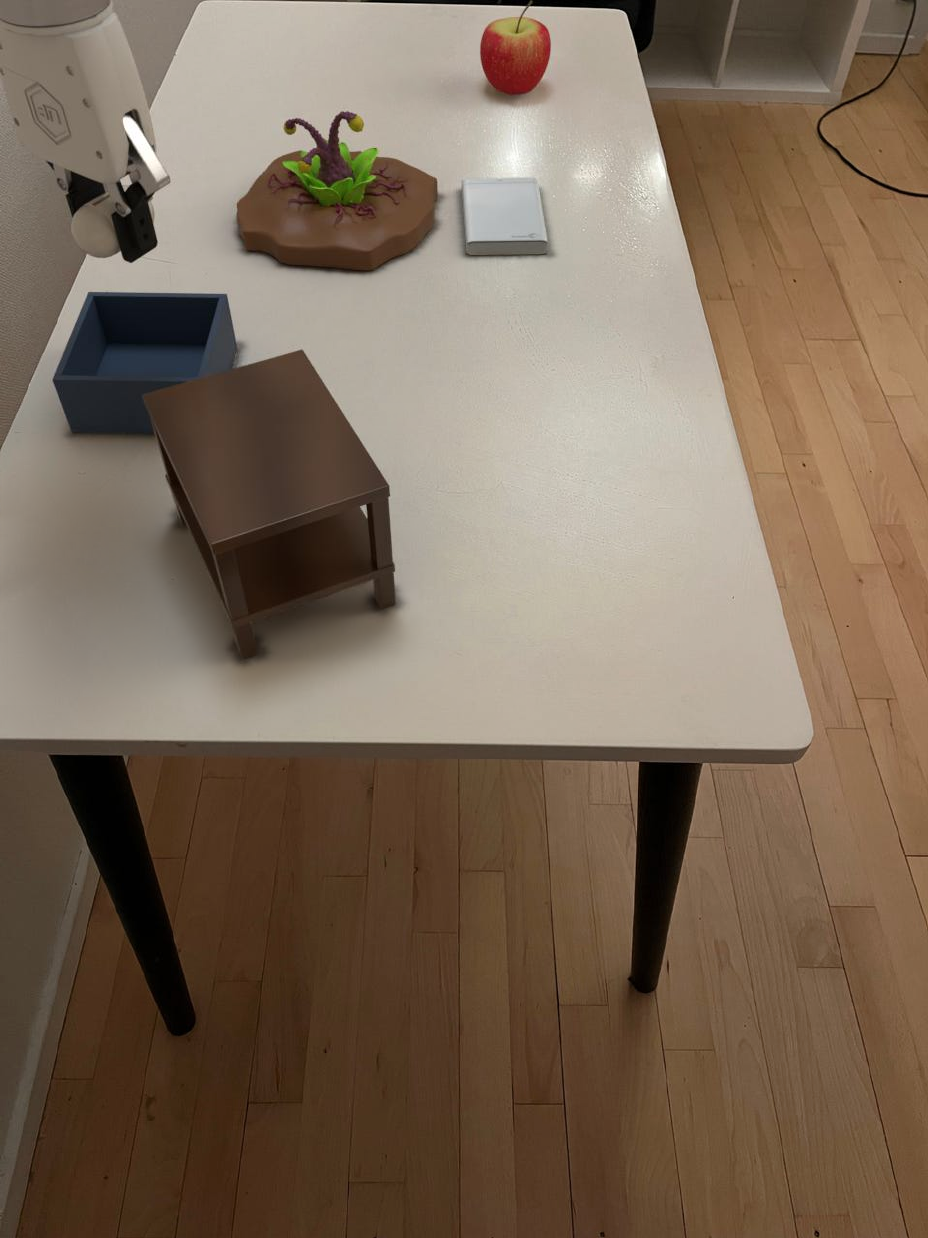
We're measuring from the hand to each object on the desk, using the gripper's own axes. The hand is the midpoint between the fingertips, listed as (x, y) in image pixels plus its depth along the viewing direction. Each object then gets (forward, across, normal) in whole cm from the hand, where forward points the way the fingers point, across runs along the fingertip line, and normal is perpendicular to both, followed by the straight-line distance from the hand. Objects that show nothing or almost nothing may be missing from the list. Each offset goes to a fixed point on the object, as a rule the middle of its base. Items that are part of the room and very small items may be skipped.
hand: (118, 241), depth 82 cm
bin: (+14, 0, 0) cm, 14 cm away
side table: (+14, +22, -10) cm, 28 cm away
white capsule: (0, 0, 0) cm, 0 cm away
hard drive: (+14, +10, +40) cm, 44 cm away
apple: (+15, -4, +66) cm, 68 cm away
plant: (+14, -4, +31) cm, 34 cm away
